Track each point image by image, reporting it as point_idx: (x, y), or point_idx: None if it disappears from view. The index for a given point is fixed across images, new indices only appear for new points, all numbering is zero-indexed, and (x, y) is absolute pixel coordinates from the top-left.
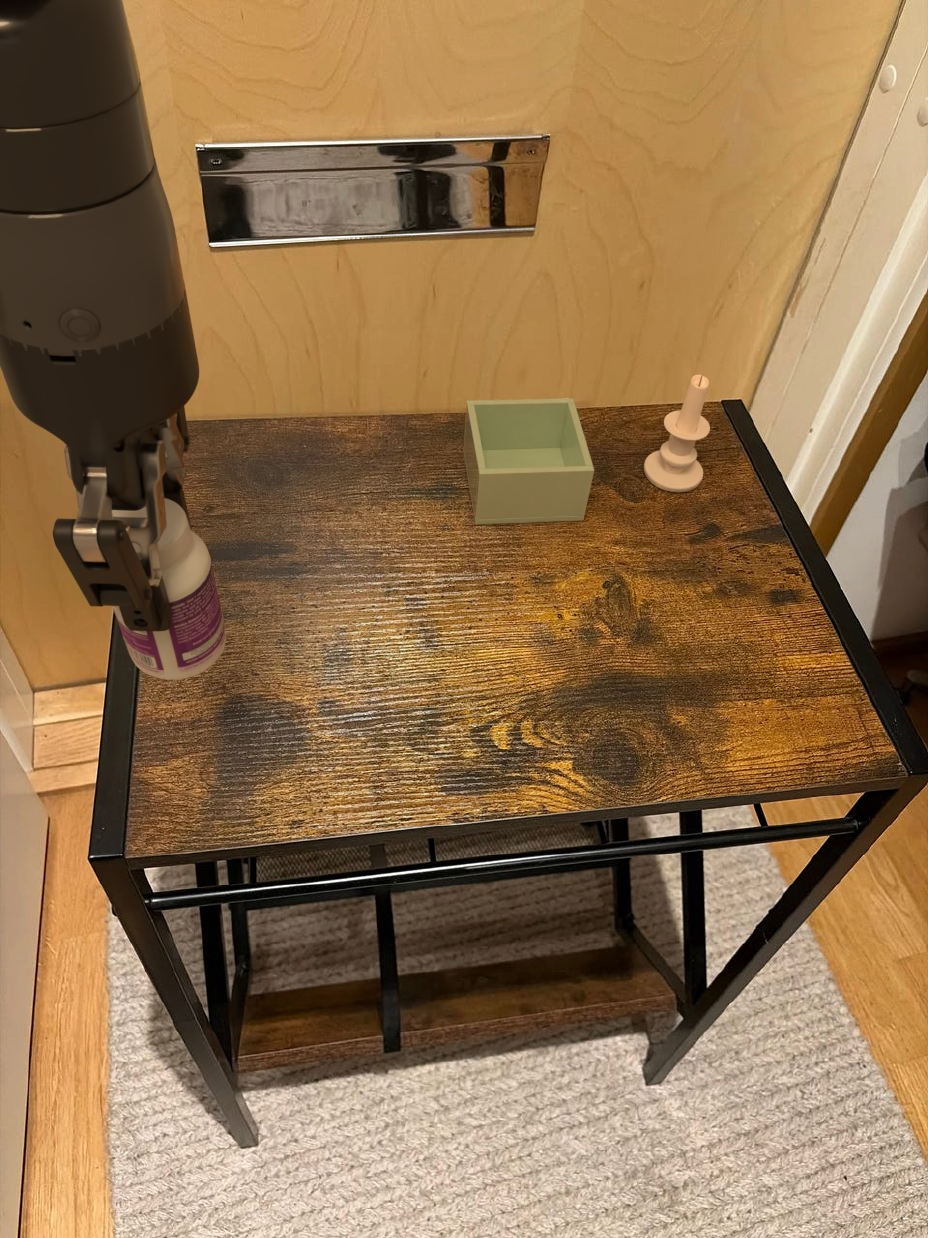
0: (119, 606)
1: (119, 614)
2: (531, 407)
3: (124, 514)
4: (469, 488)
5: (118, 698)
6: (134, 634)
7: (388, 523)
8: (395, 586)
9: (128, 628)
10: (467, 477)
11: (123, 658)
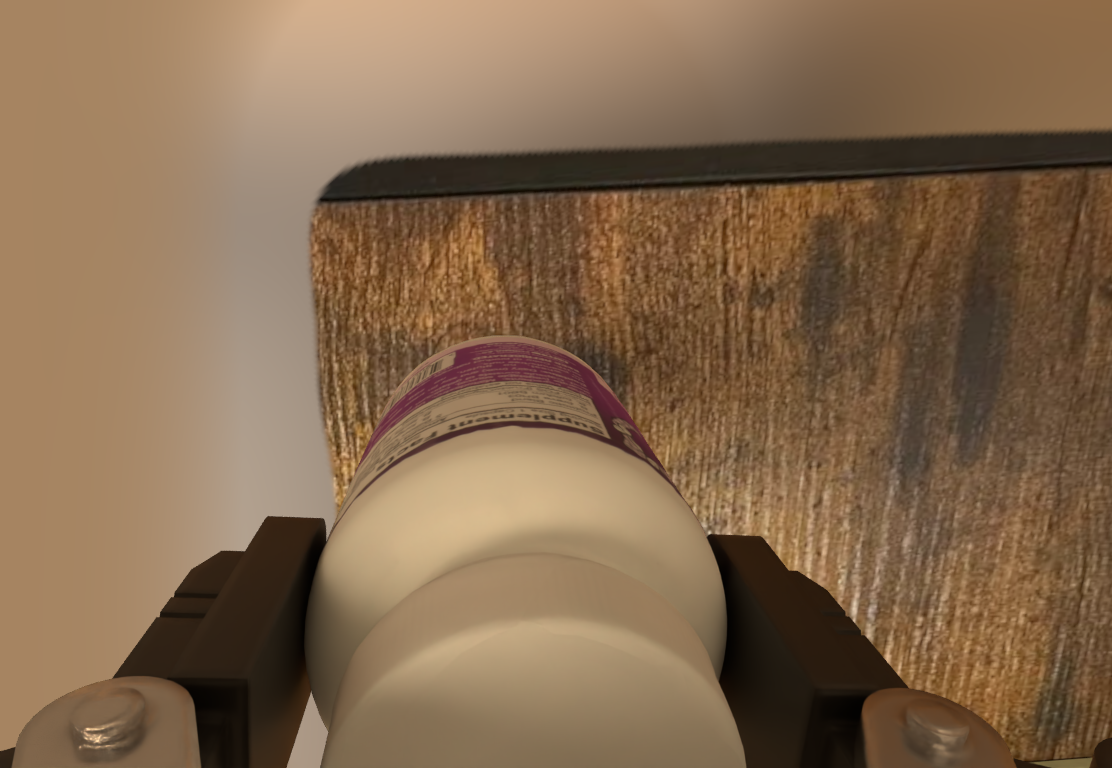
0: (236, 571)
1: (383, 447)
2: None
3: (611, 715)
4: (1050, 765)
5: (643, 151)
6: (362, 460)
7: (995, 626)
8: None
9: (205, 561)
10: (1079, 761)
11: (740, 150)
